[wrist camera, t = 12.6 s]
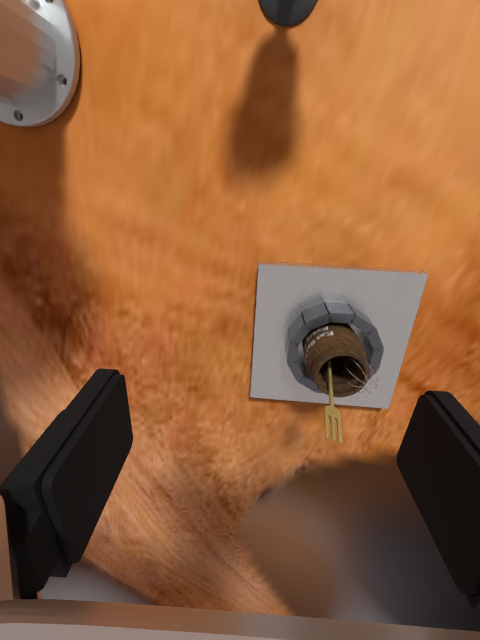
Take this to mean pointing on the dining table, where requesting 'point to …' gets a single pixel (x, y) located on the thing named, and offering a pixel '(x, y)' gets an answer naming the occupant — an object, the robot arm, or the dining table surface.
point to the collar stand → (331, 306)
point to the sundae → (287, 10)
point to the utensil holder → (336, 366)
